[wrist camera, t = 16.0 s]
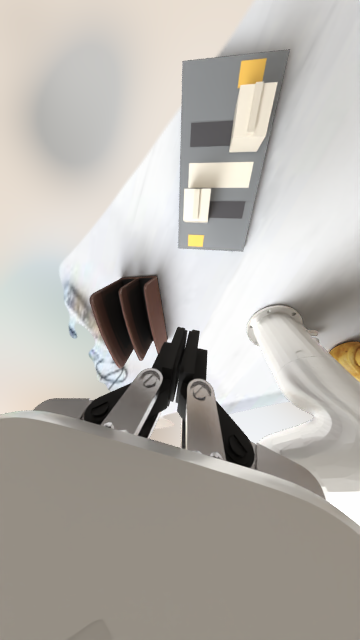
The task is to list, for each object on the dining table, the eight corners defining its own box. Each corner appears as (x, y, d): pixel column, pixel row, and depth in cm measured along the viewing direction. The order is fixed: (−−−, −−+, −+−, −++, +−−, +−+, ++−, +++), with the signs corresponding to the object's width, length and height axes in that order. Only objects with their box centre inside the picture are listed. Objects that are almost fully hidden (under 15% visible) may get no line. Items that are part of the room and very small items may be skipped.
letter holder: (138, 338, 48) (115, 373, 36) (121, 277, 38) (81, 297, 26) (168, 339, 46) (154, 376, 34) (157, 275, 36) (132, 295, 24)
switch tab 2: (265, 108, 20) (280, 76, 16) (256, 151, 22) (267, 133, 18) (234, 110, 20) (241, 80, 16) (228, 152, 22) (233, 134, 18)
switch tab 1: (210, 195, 25) (211, 187, 21) (207, 222, 27) (207, 220, 23) (187, 194, 25) (183, 187, 21) (186, 222, 27) (182, 220, 23)
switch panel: (282, 66, 19) (290, 48, 17) (241, 250, 30) (243, 251, 28) (184, 75, 21) (182, 60, 19) (179, 247, 32) (178, 248, 30)
